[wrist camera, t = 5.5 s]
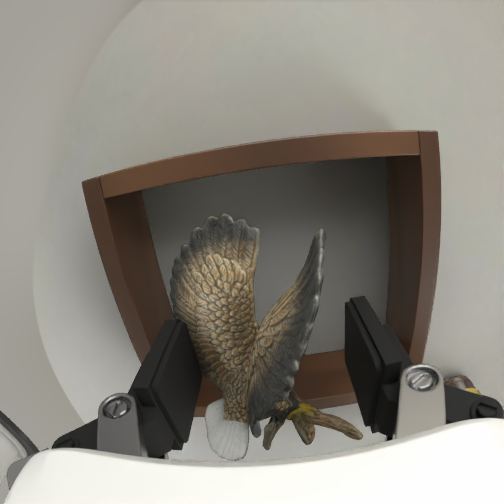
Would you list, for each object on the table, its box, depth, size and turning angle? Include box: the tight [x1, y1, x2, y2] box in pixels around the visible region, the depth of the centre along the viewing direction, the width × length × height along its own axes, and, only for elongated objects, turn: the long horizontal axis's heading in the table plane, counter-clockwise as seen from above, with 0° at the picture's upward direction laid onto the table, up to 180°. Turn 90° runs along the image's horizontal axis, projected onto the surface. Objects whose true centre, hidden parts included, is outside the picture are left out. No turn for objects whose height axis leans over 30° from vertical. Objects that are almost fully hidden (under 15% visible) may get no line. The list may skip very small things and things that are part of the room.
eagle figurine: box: [170, 214, 363, 461], centre depth 10 cm, size 8×7×9 cm
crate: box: [82, 130, 441, 417], centre depth 15 cm, size 15×14×4 cm
